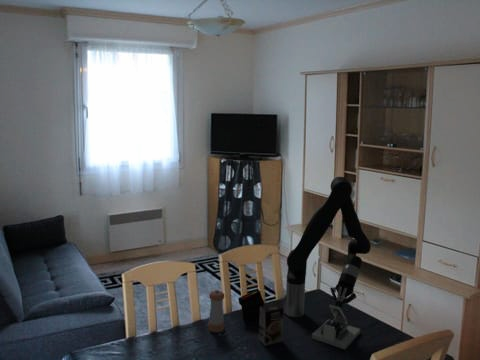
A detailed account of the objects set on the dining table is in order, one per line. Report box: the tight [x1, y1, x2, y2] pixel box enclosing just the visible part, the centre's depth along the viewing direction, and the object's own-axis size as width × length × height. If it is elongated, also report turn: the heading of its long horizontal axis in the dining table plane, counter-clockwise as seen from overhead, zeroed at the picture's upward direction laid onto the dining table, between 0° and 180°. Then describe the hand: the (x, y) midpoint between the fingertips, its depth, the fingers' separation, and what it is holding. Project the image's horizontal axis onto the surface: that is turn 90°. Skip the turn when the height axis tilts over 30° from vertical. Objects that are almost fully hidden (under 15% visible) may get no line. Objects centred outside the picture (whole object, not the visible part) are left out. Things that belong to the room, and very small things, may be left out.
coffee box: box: [258, 302, 285, 347], centre depth 212 cm, size 9×6×16 cm
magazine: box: [237, 288, 265, 322], centre depth 232 cm, size 4×13×15 cm, turn 96°
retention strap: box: [328, 304, 348, 322], centre depth 217 cm, size 6×1×13 cm
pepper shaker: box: [208, 289, 225, 333], centre depth 221 cm, size 7×7×19 cm
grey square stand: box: [311, 318, 361, 350], centre depth 218 cm, size 16×18×8 cm
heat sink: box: [321, 318, 349, 340], centre depth 217 cm, size 10×8×4 cm
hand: (337, 310), depth 216 cm, fingers closed
